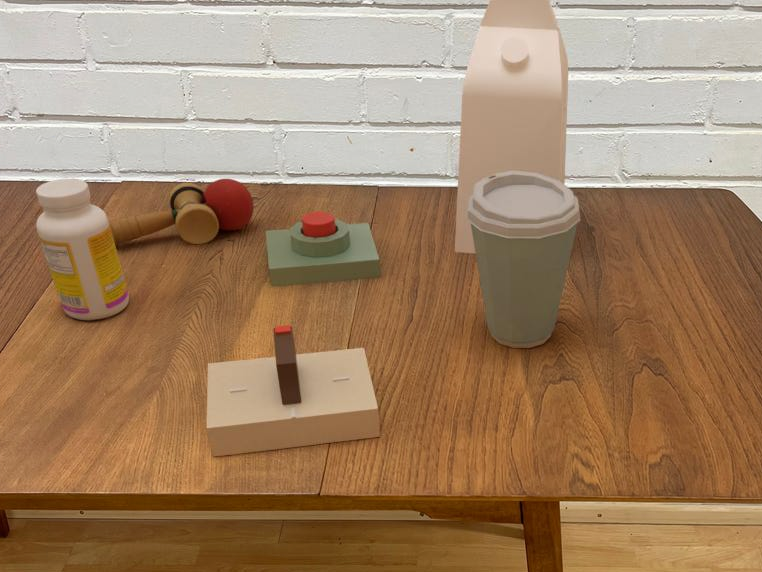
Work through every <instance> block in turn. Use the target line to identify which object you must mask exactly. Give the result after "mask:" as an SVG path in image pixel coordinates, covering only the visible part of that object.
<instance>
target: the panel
mask: <svg viewBox="0 0 762 572" xmlns="http://www.w3.org/2000/svg"><path fill="white" fill-rule="evenodd" d="M296 358H297V365H298V374H299V384H300V393H301V403H293V404H284V405H283V404H282V399H281V393H280V387H279V380H278V374H277V367H276V357H275V356H268V357H267V356H266V357H259V358H250V359H249V358H248V359H239V360H229V361H221V362H210V363H207V383H206V384H207V386H206V387H207V389H206V425H205V426H206V433H207V437H208V443H209V446H210V450H211V455H212V457H213V458H216V457H223V456H232V455H233V456H234V455H240V454H248V453H257V452H267V451H273V450H281V449H290V448H297V447H298V448H299V447H308V446H316V445H323V444H332V443H340V442H347V441H348V442H349V441H357V440H365V439H372V438H373V439H375V438H380V437H381V427H380V416H379V415H380V414H379V405H378V401H377V398H376V393H375V388H374V384H373V380H372V376H371V372H370V368H369V362H368V357H367V354H366V350H365V347H356V348H347V349H338V350H337V349H336V350H328V351H318V352H306V353H296Z"/></svg>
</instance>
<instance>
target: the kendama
mask: <svg viewBox="0 0 762 572" xmlns="http://www.w3.org/2000/svg"><path fill="white" fill-rule="evenodd" d="M168 202H169V207H170V210H163V211H157V212H155V211H154V212H150V213H144V214H139V215H135V216H130V217H126V218H120V219H115V220H111V221H109V224H110V228H111V232H112V236H113V239H114V243H115V246H116V247H117V246H119V245H123V244H126V243H128V242H131V241H134V240H137V239H140V238H142V237H146V236H149V235H152V234H155V233H157V232H160V231H163V230H164V229H167V228H169V227H171V226H174V225H175V227H176V230H177V233H178V234H179V237H180V238H181V239H182V240H183V241H185V242H187V243H189V244H191V245H204V244H207V243H209V242H211V241H213V240H214V239H215V237H216V236H217V235H218V232H219V230H222V231H228V232H230V231H238V230H240V229H242V228H244V227H245V226H247V225H248V224H249V222H250V221H251V220H252V217H253V214H254V205H255V204H254V200H253V197H252V194H251V192H250V190H249V189H248V188H247V187H246V186H245V185H244V184H243V183H241V182H239V181H238V180H235V179H232V178H220V179H216V180H214V181H213V182H211V183H209V185H207V187H206V188H205V190H203V189H202V187H200V186H199V185H197V184H195V183H193V182H182V183H179V184H177V185H175V186H174V187H173V188H172V189H171V191H170V193H169V196H168Z"/></svg>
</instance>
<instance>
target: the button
mask: <svg viewBox="0 0 762 572" xmlns="http://www.w3.org/2000/svg"><path fill="white" fill-rule="evenodd" d="M335 219H336V218H335V216H334V214H333V213H332V212H331V213H330V212H327V211H312V212H308V213H306V214H304V215H303V216H302V217H301V221H302V226H303V234H304V235H305V236H307V237H314V238H319V237H327V236H330V235H333V234H335V233H336V229H335Z"/></svg>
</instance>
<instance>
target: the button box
mask: <svg viewBox="0 0 762 572" xmlns="http://www.w3.org/2000/svg"><path fill="white" fill-rule="evenodd" d="M335 229H336V233H335V234H333V235H330V236H327V237H319V238H314V237H307V236H305V235H304V234H303V226H302V220H300V221H297V222H296V223H294V224H293V225H292V226H291V227H290V228H283V229H271V230H265V242H266V244H265V245H266V254H267V263H268V264H267V266H268V273H269V279H270V280H269V281H270V286H271V288H273V287H274V288H275V287H287V286H297V285H308V284H318V283H319V284H321V283H329V282H341V281H342V282H343V281H352V280H353V281H354V280H363V279H365V280H366V279H376V278H377V279H378V278H381V263H380V261H381V260H380V257H379V253H378V250H377V247H376V244H375V243H376V242H375V240H374V237H373V234H372V230H371V226H370V224H369V222H361V223H360V222H359V223H346V222H344V221H342V220H341V219H337V218H335Z"/></svg>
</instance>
